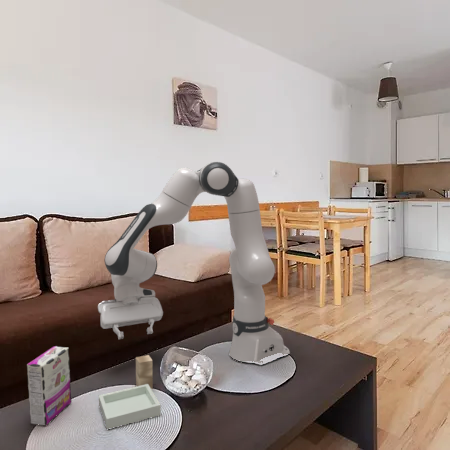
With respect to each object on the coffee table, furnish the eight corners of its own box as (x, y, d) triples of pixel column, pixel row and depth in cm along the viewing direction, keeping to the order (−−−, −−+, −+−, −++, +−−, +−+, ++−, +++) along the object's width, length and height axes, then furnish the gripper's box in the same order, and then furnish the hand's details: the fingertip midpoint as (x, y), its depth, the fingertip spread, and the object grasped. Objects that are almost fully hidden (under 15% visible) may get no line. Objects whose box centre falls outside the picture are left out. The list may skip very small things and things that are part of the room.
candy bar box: (56, 400, 109) (54, 345, 107) (71, 402, 108) (70, 347, 106) (28, 424, 98) (25, 363, 96) (45, 427, 97) (43, 365, 95)
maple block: (148, 382, 119) (148, 354, 118) (152, 388, 116) (152, 360, 115) (136, 385, 118) (135, 357, 117) (139, 391, 114) (139, 363, 113)
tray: (148, 393, 113) (147, 383, 113) (160, 415, 103) (160, 404, 102) (98, 405, 107) (98, 395, 106) (106, 430, 96) (106, 419, 96)
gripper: (97, 297, 124) (103, 337, 116) (159, 290, 133) (168, 326, 126) (95, 306, 128) (101, 345, 121) (155, 298, 138) (163, 334, 130)
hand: (136, 335), depth 123 cm, fingers open, 8 cm apart
